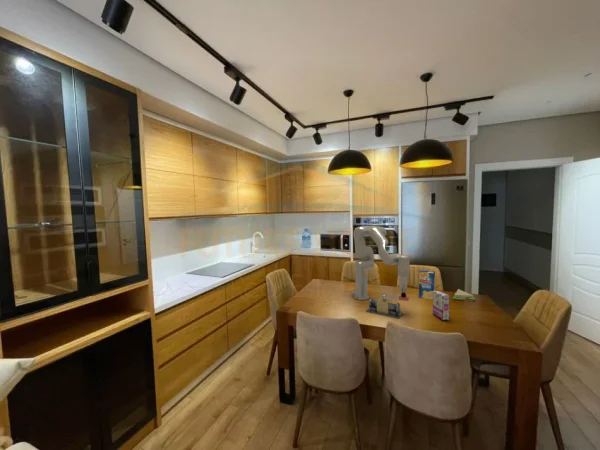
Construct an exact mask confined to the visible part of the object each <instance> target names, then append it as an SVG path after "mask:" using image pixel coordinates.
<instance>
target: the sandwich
mask: <svg viewBox="0 0 600 450" xmlns="http://www.w3.org/2000/svg"><path fill="white" fill-rule="evenodd" d="M474 296H475V295H473V294H471V293H468V292H466V291H463V290H461V289H460V288H458V289H457V291H456V292H455V293H454V295H453V297H452V299H454V300H456V301H457V300H458V301H468V302H474V301H475V300H476V299H475V297H474Z"/></svg>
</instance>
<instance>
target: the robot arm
mask: <svg viewBox="0 0 600 450" xmlns="http://www.w3.org/2000/svg"><path fill="white" fill-rule="evenodd" d="M386 236H387V230H386V228H385V227H384V226H379V225H361V226H357V227H356V228H355V229H354V230H353V240H354V241H353V242H354V253H355V254H354V255H355V257H356V258H357V260H356V261H355V262H354V264H353V267H354V274H355V275H354V276H355V291H354V290H351V294H352V295H353V298H354V299H356V300H360V301H362V300H363V301H366V300H370V295H368V275H367V273H366V271H372V270H373V268H374V266H375V260H374V259H375V258H374V257H375V255H374V250H373V248H372V247H371V246H370V245H366V240H365V238H364V237H370V238H371V239H372V241H373V242H374V243H375V244H376V246H377V248H378V250H377V251H378V255H379V257H380V259H381V261H382V262H383V263H384V264H385V265H387V266H393V265H397V276H399V278H398V279H399V280H398V283H399V284H398V285H399V286H398V287H399V291H401V293H400V296H405V297H407V293H406V291H408V279H409V278H408V277H410V256H408V255H406V254H401V253H390V254H389V252H388V251H387V250H386V246H387V245H388V244H389V240H388V238H387V237H386ZM358 259H359V260H358Z"/></svg>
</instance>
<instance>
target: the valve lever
mask: <svg viewBox="0 0 600 450" xmlns="http://www.w3.org/2000/svg"><path fill="white" fill-rule="evenodd" d="M381 298H386V299H395V300H396V299H397V300H399V301H405V302H409V300H410V297H409V296H406V297H405V296H401V295H399V296H398V295H390V294H386V293H381Z"/></svg>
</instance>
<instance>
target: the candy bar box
mask: <svg viewBox="0 0 600 450" xmlns="http://www.w3.org/2000/svg"><path fill="white" fill-rule="evenodd" d="M450 301H451V300H450V295H449V294H447V293H445V292H443V291H440V290H435V291H433V300H432V315H434V316H436V317H437V318H439V319H440V320H442V321H450Z"/></svg>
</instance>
